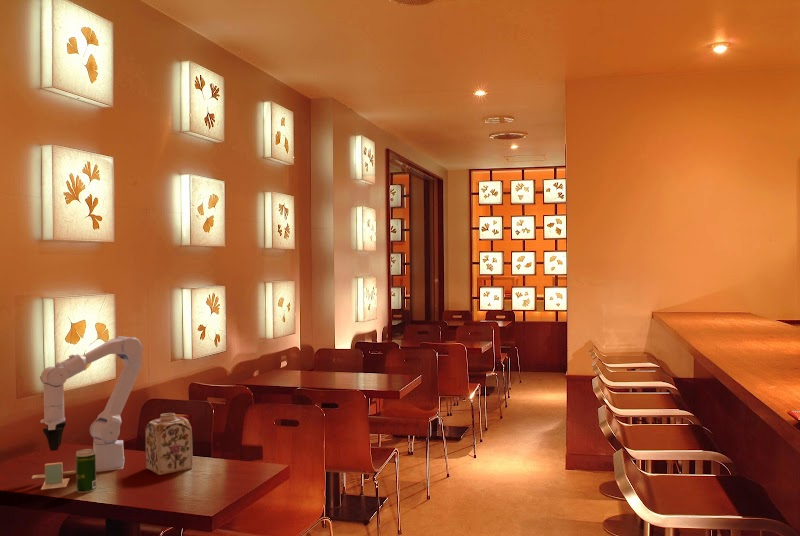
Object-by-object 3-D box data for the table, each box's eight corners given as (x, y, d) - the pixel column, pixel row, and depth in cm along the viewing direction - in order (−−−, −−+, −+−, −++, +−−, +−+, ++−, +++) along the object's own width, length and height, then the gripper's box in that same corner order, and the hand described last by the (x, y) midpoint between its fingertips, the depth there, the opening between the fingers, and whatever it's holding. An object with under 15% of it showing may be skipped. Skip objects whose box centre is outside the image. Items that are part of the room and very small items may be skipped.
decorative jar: (158, 476, 228) (156, 419, 228) (145, 468, 237) (143, 414, 237) (194, 468, 236) (192, 413, 235) (180, 461, 245) (178, 408, 244)
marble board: (69, 478, 227) (69, 478, 227) (66, 487, 218) (66, 486, 218) (45, 481, 225) (45, 480, 225) (40, 490, 216) (40, 489, 216)
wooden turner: (75, 472, 234) (75, 469, 234) (74, 475, 231) (74, 472, 231) (33, 477, 230) (33, 474, 230) (31, 480, 227) (31, 477, 227)
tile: (45, 483, 222) (45, 463, 222) (62, 481, 224) (62, 462, 224) (45, 484, 220) (44, 465, 220) (62, 483, 222) (61, 463, 222)
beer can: (98, 488, 217) (97, 448, 217) (93, 493, 211) (91, 452, 211) (80, 489, 216) (79, 449, 216) (74, 494, 211) (72, 453, 211)
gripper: (43, 402, 232) (44, 444, 232) (36, 410, 219) (37, 455, 219) (67, 400, 235) (68, 442, 235) (61, 408, 221) (63, 452, 221)
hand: (55, 448), depth 227 cm, fingers open, 5 cm apart
